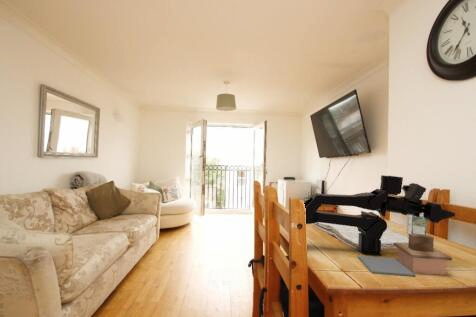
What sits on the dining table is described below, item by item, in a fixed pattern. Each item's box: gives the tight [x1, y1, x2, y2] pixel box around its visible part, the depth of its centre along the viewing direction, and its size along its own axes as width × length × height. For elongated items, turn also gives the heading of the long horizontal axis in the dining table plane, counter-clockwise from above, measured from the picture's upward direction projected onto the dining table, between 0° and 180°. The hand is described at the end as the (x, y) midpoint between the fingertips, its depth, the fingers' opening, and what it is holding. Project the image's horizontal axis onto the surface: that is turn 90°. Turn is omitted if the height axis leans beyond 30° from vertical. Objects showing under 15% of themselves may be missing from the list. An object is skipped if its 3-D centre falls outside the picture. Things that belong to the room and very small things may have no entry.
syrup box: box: [406, 213, 428, 236], centre depth 114 cm, size 6×6×14 cm
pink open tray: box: [397, 248, 447, 276], centre depth 80 cm, size 9×9×5 cm
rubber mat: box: [357, 255, 416, 278], centre depth 80 cm, size 12×12×1 cm
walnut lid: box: [393, 234, 453, 261], centre depth 81 cm, size 11×11×5 cm
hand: (445, 211), depth 90 cm, fingers open, 9 cm apart
